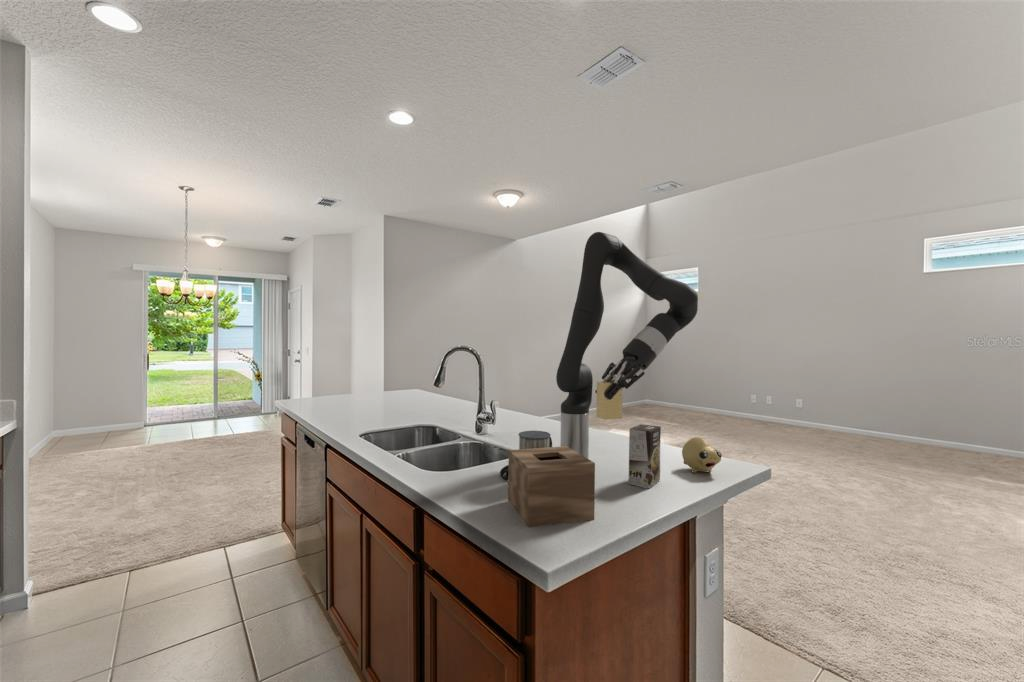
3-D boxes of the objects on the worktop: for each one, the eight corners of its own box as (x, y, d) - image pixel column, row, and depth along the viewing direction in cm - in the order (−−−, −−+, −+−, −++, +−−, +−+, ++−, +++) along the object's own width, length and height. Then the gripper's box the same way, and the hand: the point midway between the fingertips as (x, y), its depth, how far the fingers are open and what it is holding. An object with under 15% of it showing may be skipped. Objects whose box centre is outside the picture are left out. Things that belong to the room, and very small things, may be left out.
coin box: (508, 501, 111) (508, 450, 111) (566, 495, 115) (566, 446, 115) (528, 527, 95) (529, 468, 95) (594, 519, 100) (594, 463, 100)
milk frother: (548, 493, 116) (548, 438, 116) (491, 488, 120) (491, 435, 120) (554, 477, 130) (554, 427, 130) (503, 473, 134) (503, 425, 134)
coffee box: (650, 489, 120) (650, 431, 120) (627, 484, 124) (628, 428, 124) (661, 481, 127) (661, 426, 127) (639, 476, 131) (640, 423, 131)
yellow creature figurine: (698, 479, 129) (698, 443, 129) (676, 467, 141) (676, 434, 141) (727, 477, 131) (728, 442, 131) (703, 465, 143) (703, 433, 143)
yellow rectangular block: (596, 416, 111) (596, 381, 111) (613, 415, 112) (614, 381, 112) (604, 419, 107) (604, 383, 107) (621, 418, 109) (622, 382, 109)
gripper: (621, 337, 119) (580, 382, 115) (652, 337, 105) (606, 389, 102) (638, 356, 120) (598, 401, 117) (670, 359, 107) (626, 410, 103)
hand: (602, 395), depth 109 cm, fingers closed on yellow rectangular block, 4 cm apart
